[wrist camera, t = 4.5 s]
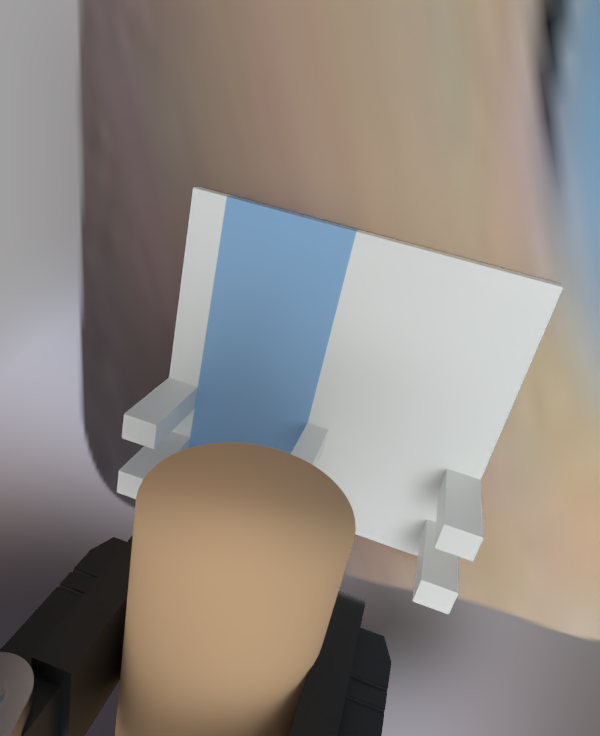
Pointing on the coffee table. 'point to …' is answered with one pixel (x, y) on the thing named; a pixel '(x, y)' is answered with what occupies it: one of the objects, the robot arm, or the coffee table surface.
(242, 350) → the cylinder holder rack
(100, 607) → the robot arm
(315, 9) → the coffee table surface
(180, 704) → the tan rounded cylinder
